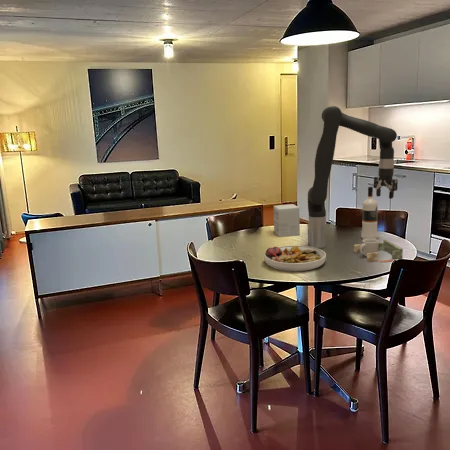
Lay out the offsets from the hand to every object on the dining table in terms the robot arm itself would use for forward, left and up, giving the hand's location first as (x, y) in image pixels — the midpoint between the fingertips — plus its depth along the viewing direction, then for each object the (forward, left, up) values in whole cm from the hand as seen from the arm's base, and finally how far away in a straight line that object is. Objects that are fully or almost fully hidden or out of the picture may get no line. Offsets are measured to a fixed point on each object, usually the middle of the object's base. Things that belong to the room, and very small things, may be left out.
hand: (384, 197), depth 235 cm
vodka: (-3, +11, -26) cm, 28 cm away
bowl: (-56, -19, -26) cm, 65 cm away
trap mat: (-13, -30, -26) cm, 41 cm away
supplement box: (-45, +37, -26) cm, 64 cm away
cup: (-18, -20, -26) cm, 37 cm away
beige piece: (-14, -20, -26) cm, 35 cm away
